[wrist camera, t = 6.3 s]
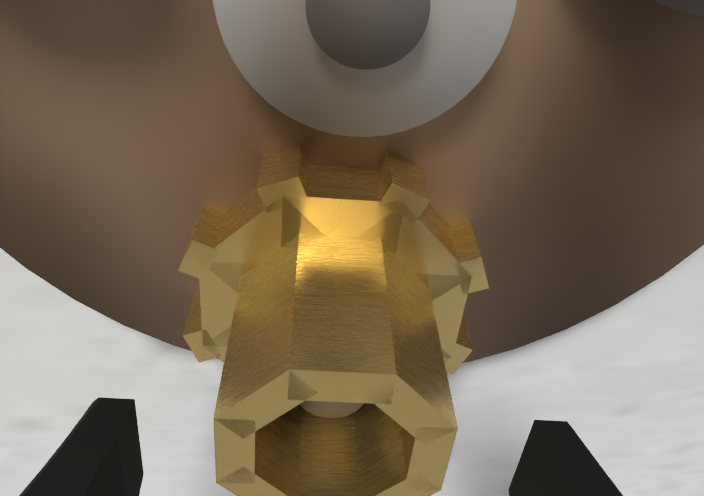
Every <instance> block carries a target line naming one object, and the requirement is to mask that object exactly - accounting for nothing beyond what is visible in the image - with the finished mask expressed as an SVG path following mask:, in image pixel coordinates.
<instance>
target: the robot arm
mask: <svg viewBox="0 0 704 496" xmlns="http://www.w3.org/2000/svg"><path fill="white" fill-rule="evenodd" d="M142 478H143V467H142V459H141V450H140V442H139V434H138V426H137V417H136V409H135V401H134V399H115V398H98V399H96V400H95V401H94V402H93V403H92V404H91V406H90V407H89V408H88V410H87V411H86V412H85V414H84V415H83V417H82V418H81V419H80V421H79V422H78V423H77V425H76V426H75V427H74V429H73V430H72V431H71V433H70V434H69V435H68V437H67V438H66V439H65V440H64V442H63V443H62V444H61V446H60V447H59V448H58V449H57V451H56V452H55V453H54V454H53V456H52V457H51V458H50V459H49V461H48V462H47V463H46V465H45V466H44V467H43V468H42V469H41V471H40V472H39V473H38V474H37V475H36V477H35V478H34V479H33V480H32V481H31V482H30V484H29V485H28V486H27V487H26V488H25V490H24V491H23V492H22V493H21V494H20V496H139V493H140V488H141V483H142ZM509 496H623V495H622V494H621V493H620V491H619V490H618V489H617V487H616V486H615V485H614V483H613V482H612V481H611V479H610V478H609V477H608V475H607V474H606V473H605V471H604V470H603V469H602V467H601V466H600V465H599V463H598V462H597V461H596V459H595V458H594V457H593V455H592V454H591V453H590V451H589V450H588V449H587V447H586V446H585V445H584V443H583V442H582V441H581V439H580V438H579V437H578V435H577V434H576V433H575V431H574V430H573V429H572V427H571V426H570V425H569V424H568V422H564V421H544V420H534V423H533V426H532V428H531V431H530V434H529V436H528V439H527V442H526V444H525V447H524V450H523V452H522V455H521V458H520V461H519V463H518V466H517V469H516V471H515V474H514V477H513V479H512V482H511V485H510V487H509Z"/></svg>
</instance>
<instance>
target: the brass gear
mask: <svg viewBox="0 0 704 496" xmlns="http://www.w3.org/2000/svg"><path fill="white" fill-rule="evenodd" d="M429 202H430V196H429V192H428V188H427V184H426V179H425V175H424V171H423V167H422V166H420V165H418V164H416V163H414V162H412V161H410V160H408V159H406V158H403V157H401V156H399V155H397V154H395V153H393V152H391V151H389V150H387V151H386V153H385V154H384V156H383V158H382V159H381V161H380V163H379V164H378V166H377V168H375V167H360V166H346V165H331V164H317V163H309V162H308V159H307V157H306V154H305V152H304V149H303V147H302V144H299V145H296V146H292V147H289V148H286V149H282V150H279V151H276V152H272V153H269V154H266V155H263V157H262V162H261V167H260V172H259V177H258V183H257V186H255V187H254V188H253V189H252V190H250V191H249V192H248V193H247V194H245V195H244V196H243V197H242V198H240V199H239V200H238V201H237V202H235V203H234V204H233V205H232V206H230V207H229V208H228V209H227V210H225V211H224V212H223V211H220V210H218V209H215V208H213V207H210V206H208V205H206V204H203V206H202V208H201V210H200V213H199V215H198V217H197V219H196V221H195V223H194V226H193V228H192V230H191V232H190V235H189V238H188V241H187V244H186V247H185V250H184V253H183V256H182V259H181V263H180V266H179V269H178V271H180V272H183V273H185V274H188V275H191V276H193V277H196V278H199V284H200V294H198V295H194V296H193V300H192V303H191V307H190V311H189V314H188V318H187V321H186V325H185V329H184V332H183V337H184V339H185V340H186V342H187V344H188V345H189V347H190V349H191V350H192V352H193V353H194V355H195V357H196V358H197V360H198V361H199V362H202V361H205V360H209V359H213V358H217V357H218V358H219V359H220V360H222V361H223V362H224V367H223V372H222V377H221V382H220V388H219V393H218V398H217V403H216V409H215V414H214V439H215V464H216V483H218V484H219V485H221V486H222V487H224V488H226V489H227V490H229V491H230V492H232V493H233V494H235V495H237V496H430V495H432V494H434V493H436V492H438V491H440V490H441V488H442V484H443V481H444V477H445V473H446V470H447V466H448V462H449V458H450V455H451V451H452V447H453V443H454V440H455V436H456V432H457V429H458V428H457V423H456V418H455V413H454V408H453V403H452V398H451V393H450V388H449V383H448V378H447V373H446V372H449V373H451V374H453V373H454V372H455V371H456V370H457V368H458V367H459V366H460V365H461V364H462V362H463V361H464V360H465V359H466V358H467V356H468V355H469V354H470V353H471V352H472V351H473V348H472V344H471V340H470V336H469V333H468V329H467V325H466V321H465V317H464V313H463V312H464V307H465V303H466V299H467V295H468V293H472V292H476V291H480V290H484V289H488V288H489V286H488V282H487V278H486V273H485V269H484V265H483V261H482V257H481V254H480V251H479V248H478V245H477V242H476V239H475V236H474V233H473V230H472V227H471V224H470V221H467V222H463V223H459V224H455V225H452V226H449V225H448V224H447V223H446V222H445V221H444V220H443V219H442V217H441V216H440V215H439V214H438V213H437V212H436V211H435V210H434V209H433V207H432V206H431V205H430V204H429ZM304 401H324V402H348V403H364V404H363V406H362V407H361V408H360V409H358V410H357V411H356V412H354V413H352V414H350V415H347V416H344V417H339V418H324V417H319V416H316V415H313V414H311V413H309V412H308V411H306V410H305V409H304V408H303V407H302V406H301V405H300V403H302V402H304Z"/></svg>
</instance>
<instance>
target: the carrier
mask: <svg viewBox="0 0 704 496" xmlns="http://www.w3.org/2000/svg"><path fill="white" fill-rule="evenodd" d="M299 144H302V147H303V149H304V152H305V154H306V157H307V159H308V162H309V163H317V164H331V165H346V166H360V167H375V168H377V166H378V164H379V163H380V161H381V159H382V158H383V156H384V154H385V153H386V151H387V150H389V151H391V152H393V153H395V154H397V155H399V156H401V157H403V158H406V159H408V160H410V161H412V162H414V163H416V164H418V165H420V166H422V167H423V171H424V175H425V179H426V184H427V188H428V192H429V196H430V202H429V204H430V205H431V206H432V207H433V209H434V210H435V211H436V212H437V213H438V214H439V215H440V216H441V217H442V219H443V220H444V221H445V222H446V223H447V224H448V225H449V226H452V225H455V224H459V223H463V222H467V221H470V224H471V227H472V230H473V233H474V236H475V239H476V242H477V245H478V248H479V251H480V254H481V257H482V261H483V265H484V269H485V273H486V278H487V282H488V286H489V288H488V289H484V290H480V291H476V292H472V293H468V295H467V299H466V303H465V307H464V312H463V313H464V317H465V321H466V325H467V329H468V333H469V336H470V340H471V344H472V348H473V351H472V352H471V353H470V354H469V355H468V356H467V358H466V359H465V360H464V361H463V362H462V363H464V362H469V361H473V360H476V359H480V358H483V357H487V356H490V355H494V354H497V353H501V352H505V351H508V350H512V349H515V348H518V347H521V346H524V345H526V344H529V343H531V342H534V341H537V340H539V339H542V338H544V337H547V336H550V335H552V334H555V333H557V332H560V331H563V330H565V329H568V328H570V327H572V326H574V325H576V324H578V323H580V322H582V321H584V320H586V319H588V318H590V317H592V316H594V315H596V314H598V313H600V312H602V311H604V310H606V309H608V308H610V307H612V306H614V305H616V304H617V303H619V302H621V301H622V300H624V299H625V298H627V297H629V296H630V295H632V294H633V293H635V292H637V291H638V290H640V289H642V288H643V287H645V286H646V285H648V284H650V283H651V282H653V281H655V280H656V279H658V278H659V277H661V276H663V275H664V274H665V273H667V272H668V271H669V270H671V269H672V268H673V267H675V266H676V265H677V264H679V263H680V262H681V261H682V260H684V259H685V258H686V257H688V256H689V255H690V254H692V253H693V252H694V251H696V250H697V249H698V248H700V247H701V246H702V245H704V0H0V248H2V249H3V250H4V251H5V252H7V253H8V254H9V255H10V256H12V257H13V258H14V259H15V260H17V261H18V262H19V263H20V264H22V265H23V266H24V267H25V268H27V269H28V270H30V271H31V272H33V273H35V274H36V275H38V276H39V277H41V278H42V279H44V280H45V281H47V282H48V283H50V284H51V285H53V286H55V287H56V288H58V289H59V290H61V291H62V292H64V293H65V294H67V295H68V296H70V297H71V298H73V299H75V300H76V301H78V302H80V303H82V304H84V305H86V306H88V307H90V308H92V309H94V310H96V311H98V312H100V313H101V314H103V315H105V316H107V317H109V318H111V319H113V320H115V321H117V322H119V323H121V324H123V325H125V326H127V327H130V328H132V329H135V330H137V331H140V332H142V333H144V334H147V335H149V336H152V337H154V338H157V339H159V340H162V341H164V342H167V343H169V344H172V345H174V346H178V347H181V348H185V349H188V350H191V349H190V347H189V345H188V344H187V342H186V340H185V339H184V337H183V332H184V329H185V325H186V321H187V318H188V314H189V311H190V307H191V303H192V300H193V296H194V295H198V294H200V284H199V278H196V277H193V276H191V275H188V274H185V273H183V272H180V271H178V269H179V266H180V263H181V259H182V256H183V253H184V250H185V247H186V244H187V241H188V238H189V235H190V232H191V230H192V228H193V226H194V223H195V221H196V219H197V217H198V215H199V213H200V210H201V208H202V206H203V204H206V205H208V206H210V207H213V208H215V209H218V210H220V211H223V212H224V211H225V210H227V209H228V208H229V207H230V206H232V205H233V204H234V203H235V202H237V201H238V200H239V199H240V198H242V197H243V196H244V195H245V194H247V193H248V192H249V191H250V190H252V189H253V188H254V187H255V186H257V183H258V177H259V172H260V167H261V162H262V157H263V155H266V154H269V153H272V152H276V151H279V150H282V149H286V148H289V147H292V146H296V145H299ZM191 351H192V350H191ZM217 358H218V357H217ZM218 359H219V358H218ZM363 404H364V403H348V402H324V401H304V402H302V403H300V405H301V406H302V407H303V408H304V409H305V410H306V411H308V412H309V413H311V414H313V415H316V416H319V417H324V418H339V417H344V416H347V415H350V414H352V413H354V412H356V411H357V410H358V409H360V408H361V407H362V406H363Z"/></svg>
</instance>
